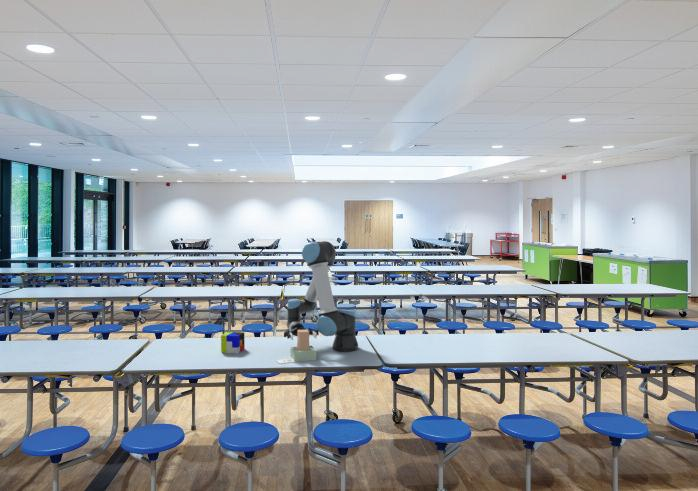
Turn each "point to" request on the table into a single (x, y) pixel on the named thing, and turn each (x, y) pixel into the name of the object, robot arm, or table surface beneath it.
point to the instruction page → (286, 361)
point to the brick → (303, 339)
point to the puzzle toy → (232, 342)
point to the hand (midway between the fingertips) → (304, 336)
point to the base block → (303, 354)
